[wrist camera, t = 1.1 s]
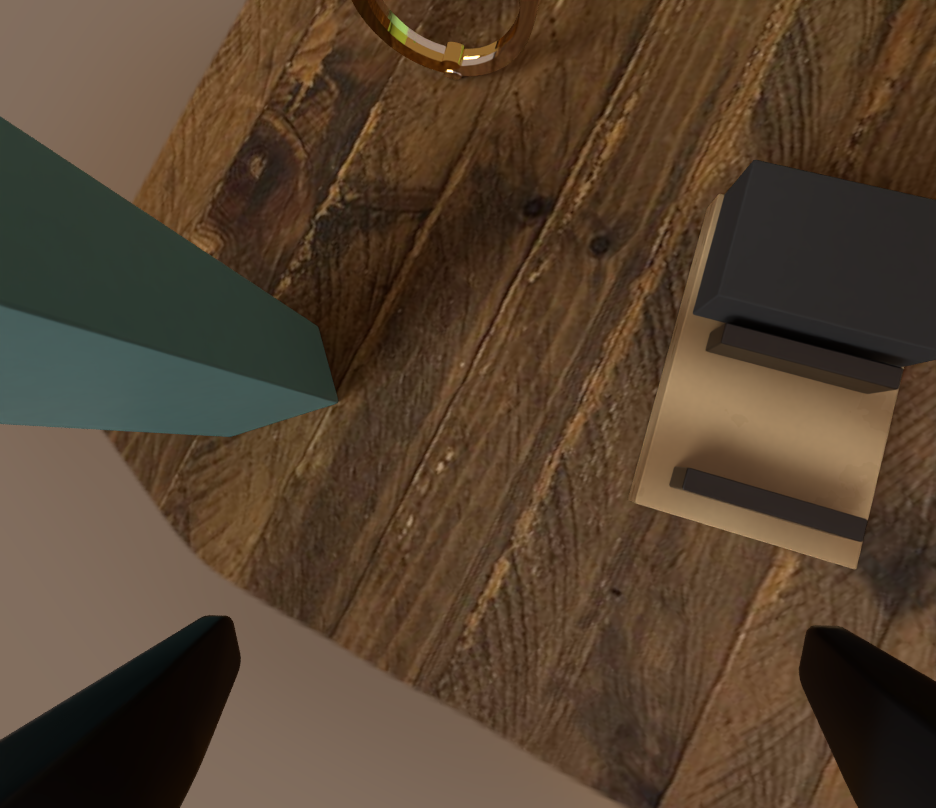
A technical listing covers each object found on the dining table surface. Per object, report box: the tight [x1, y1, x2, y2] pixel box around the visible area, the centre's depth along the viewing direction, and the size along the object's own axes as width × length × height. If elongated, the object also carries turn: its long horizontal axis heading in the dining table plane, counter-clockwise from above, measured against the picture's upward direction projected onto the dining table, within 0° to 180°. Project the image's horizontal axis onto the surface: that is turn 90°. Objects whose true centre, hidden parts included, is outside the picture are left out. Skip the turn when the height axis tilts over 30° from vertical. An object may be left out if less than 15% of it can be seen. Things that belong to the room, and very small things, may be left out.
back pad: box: [0, 117, 338, 437], centre depth 14 cm, size 4×5×15 cm
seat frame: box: [628, 160, 936, 569], centre depth 18 cm, size 12×8×4 cm, turn 163°
